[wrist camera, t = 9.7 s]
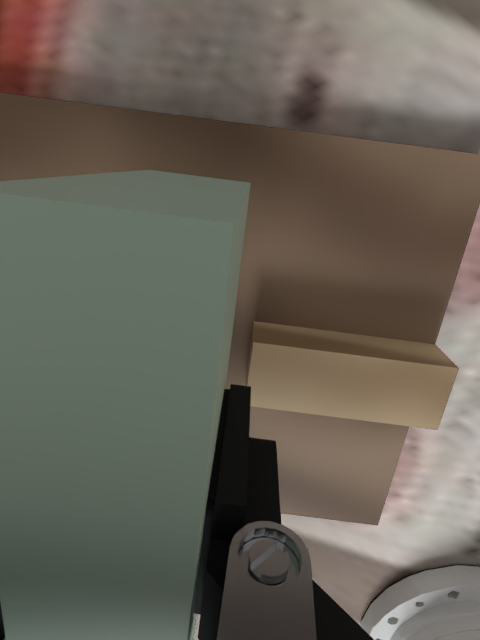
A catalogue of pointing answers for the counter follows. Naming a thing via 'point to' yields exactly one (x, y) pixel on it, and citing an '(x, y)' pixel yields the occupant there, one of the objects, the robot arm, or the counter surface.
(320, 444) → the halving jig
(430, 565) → the counter surface
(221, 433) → the robot arm
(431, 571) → the mechanical component
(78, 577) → the sage plate
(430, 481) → the counter surface
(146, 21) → the counter surface
